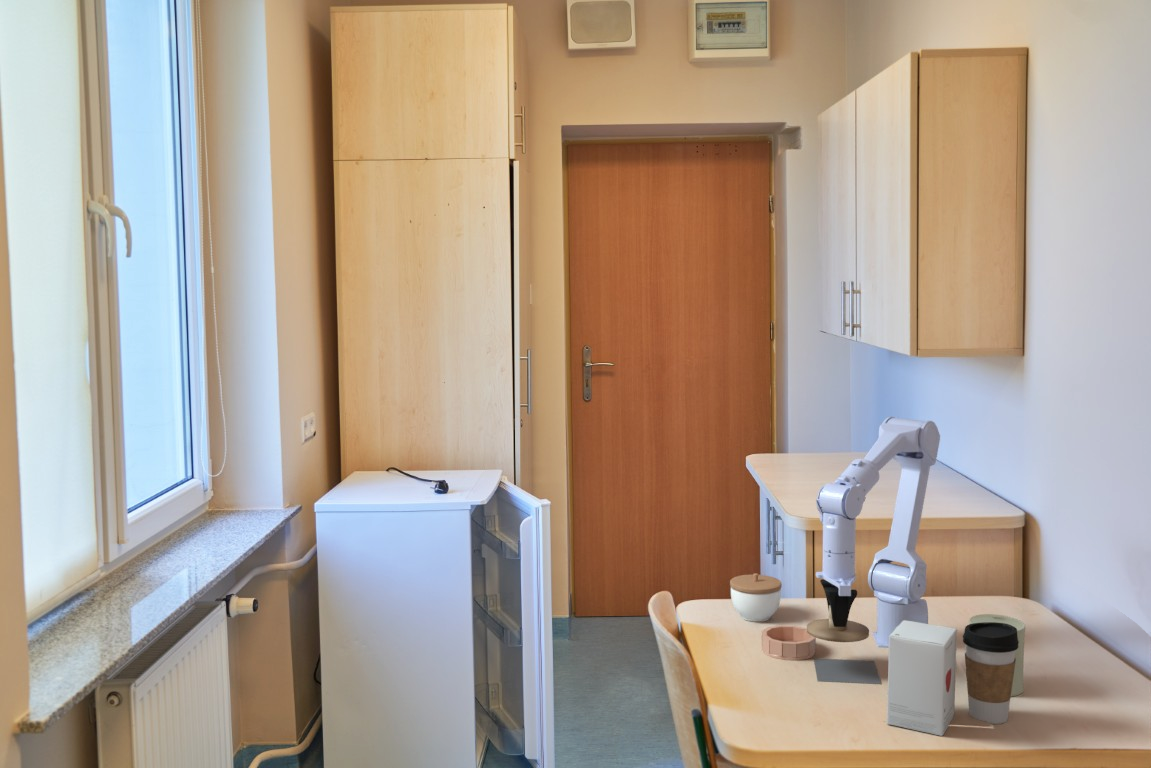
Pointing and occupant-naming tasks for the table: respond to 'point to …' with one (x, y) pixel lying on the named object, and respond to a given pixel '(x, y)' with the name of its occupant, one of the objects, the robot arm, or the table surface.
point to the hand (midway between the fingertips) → (837, 622)
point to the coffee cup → (990, 669)
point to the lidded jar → (755, 596)
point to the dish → (788, 643)
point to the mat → (846, 671)
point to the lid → (837, 630)
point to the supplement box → (921, 677)
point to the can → (1019, 653)
